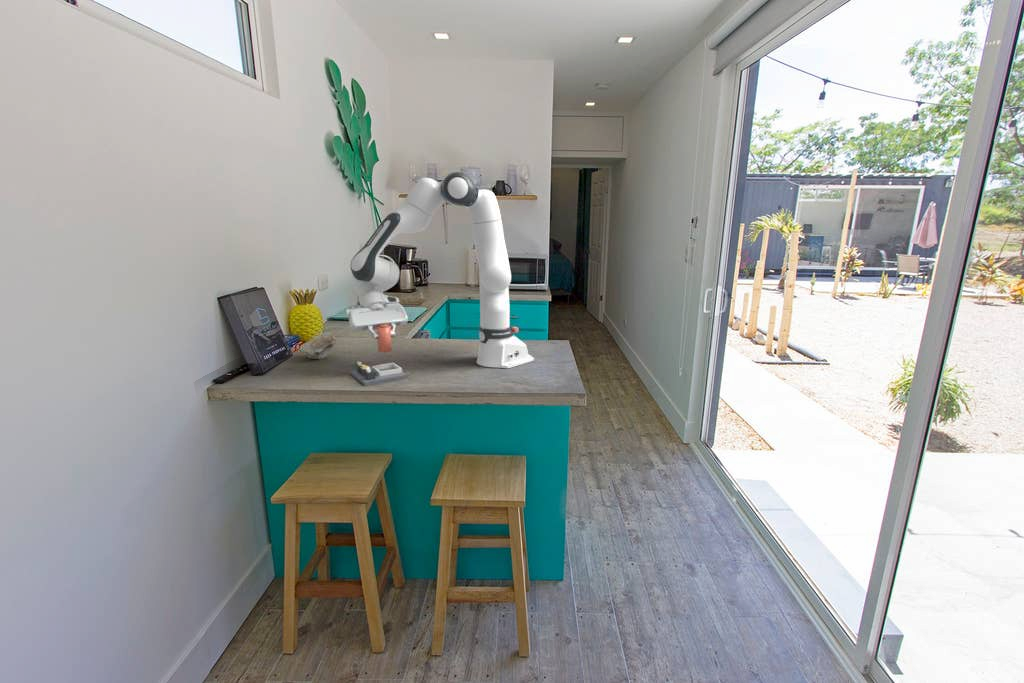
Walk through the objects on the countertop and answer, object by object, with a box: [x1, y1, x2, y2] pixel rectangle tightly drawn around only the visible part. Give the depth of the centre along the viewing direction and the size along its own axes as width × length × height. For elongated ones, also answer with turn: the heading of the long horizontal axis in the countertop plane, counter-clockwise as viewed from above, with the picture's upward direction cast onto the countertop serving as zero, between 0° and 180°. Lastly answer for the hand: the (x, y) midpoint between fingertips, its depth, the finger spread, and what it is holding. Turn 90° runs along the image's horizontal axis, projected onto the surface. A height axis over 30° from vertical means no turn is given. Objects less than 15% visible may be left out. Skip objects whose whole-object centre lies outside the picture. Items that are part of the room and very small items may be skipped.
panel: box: [350, 361, 408, 387], centre depth 176 cm, size 15×15×5 cm
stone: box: [299, 331, 338, 360], centre depth 196 cm, size 11×14×10 cm
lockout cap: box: [376, 324, 392, 353], centre depth 175 cm, size 5×5×9 cm
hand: (384, 337), depth 174 cm, fingers closed on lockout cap, 5 cm apart
